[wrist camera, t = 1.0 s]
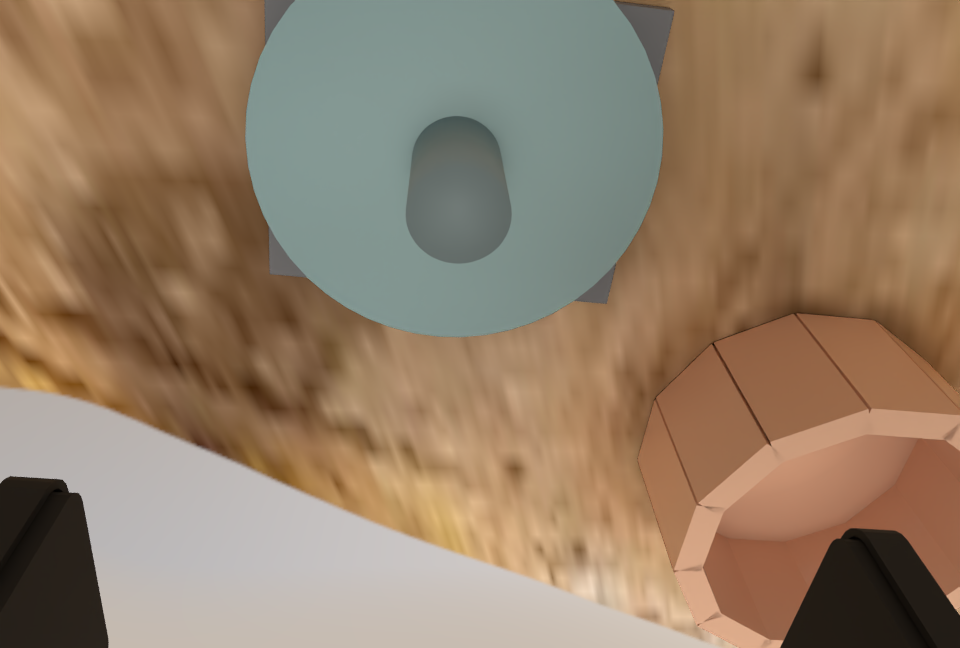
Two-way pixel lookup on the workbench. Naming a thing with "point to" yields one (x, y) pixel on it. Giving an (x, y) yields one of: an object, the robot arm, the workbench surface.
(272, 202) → the lid
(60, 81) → the workbench surface
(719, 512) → the bowl
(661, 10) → the mat
